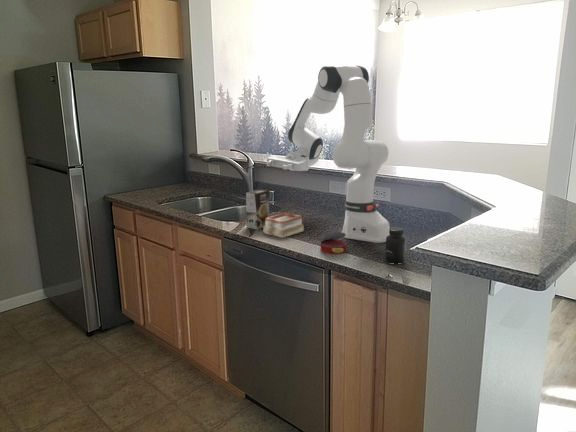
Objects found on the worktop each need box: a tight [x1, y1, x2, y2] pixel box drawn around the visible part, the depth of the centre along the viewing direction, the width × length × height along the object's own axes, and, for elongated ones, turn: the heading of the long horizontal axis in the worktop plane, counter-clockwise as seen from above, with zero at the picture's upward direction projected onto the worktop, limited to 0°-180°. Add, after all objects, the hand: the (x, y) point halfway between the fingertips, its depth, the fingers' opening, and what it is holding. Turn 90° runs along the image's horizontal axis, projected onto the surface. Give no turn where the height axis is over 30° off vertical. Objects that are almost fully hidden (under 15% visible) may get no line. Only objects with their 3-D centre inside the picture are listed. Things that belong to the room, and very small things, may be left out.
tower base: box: [262, 212, 305, 239], centre depth 197 cm, size 11×14×7 cm
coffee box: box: [245, 189, 270, 230], centre depth 205 cm, size 9×6×16 cm
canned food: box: [319, 231, 348, 255], centre depth 172 cm, size 11×10×10 cm
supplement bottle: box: [384, 226, 407, 264], centre depth 158 cm, size 7×7×12 cm
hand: (275, 165), depth 209 cm, fingers open, 8 cm apart
